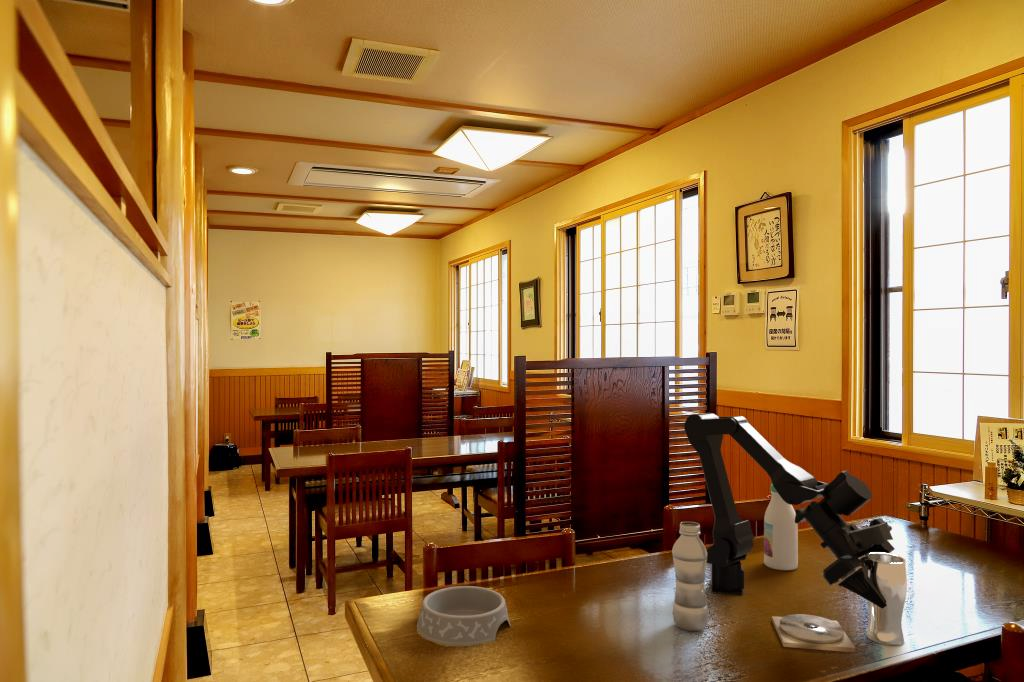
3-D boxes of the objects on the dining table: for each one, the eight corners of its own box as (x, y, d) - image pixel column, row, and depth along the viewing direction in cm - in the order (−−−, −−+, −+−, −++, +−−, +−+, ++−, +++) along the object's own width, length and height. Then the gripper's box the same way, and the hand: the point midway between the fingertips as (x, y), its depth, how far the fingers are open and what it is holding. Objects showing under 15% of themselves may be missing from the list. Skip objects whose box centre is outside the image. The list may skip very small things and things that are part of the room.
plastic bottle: (703, 638, 127) (702, 530, 127) (667, 630, 130) (667, 525, 130) (712, 626, 132) (712, 522, 132) (678, 618, 136) (678, 518, 136)
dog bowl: (523, 617, 137) (522, 590, 137) (481, 655, 121) (481, 625, 121) (448, 604, 144) (448, 578, 145) (400, 638, 128) (400, 609, 128)
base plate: (783, 646, 123) (783, 642, 123) (771, 620, 135) (771, 616, 135) (855, 652, 121) (855, 647, 121) (837, 625, 133) (837, 620, 133)
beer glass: (912, 648, 122) (912, 564, 122) (870, 645, 124) (870, 562, 124) (899, 632, 129) (899, 553, 129) (859, 629, 131) (859, 550, 131)
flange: (786, 641, 124) (786, 635, 124) (774, 617, 134) (774, 611, 134) (851, 646, 122) (851, 640, 122) (834, 621, 132) (834, 616, 132)
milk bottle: (800, 564, 169) (800, 483, 169) (794, 573, 163) (794, 489, 163) (767, 559, 173) (767, 480, 173) (760, 567, 167) (760, 485, 167)
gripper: (839, 513, 124) (906, 591, 115) (883, 498, 136) (946, 568, 127) (798, 547, 130) (858, 623, 121) (843, 529, 142) (900, 598, 133)
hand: (893, 602), depth 125 cm, fingers closed on beer glass, 7 cm apart
